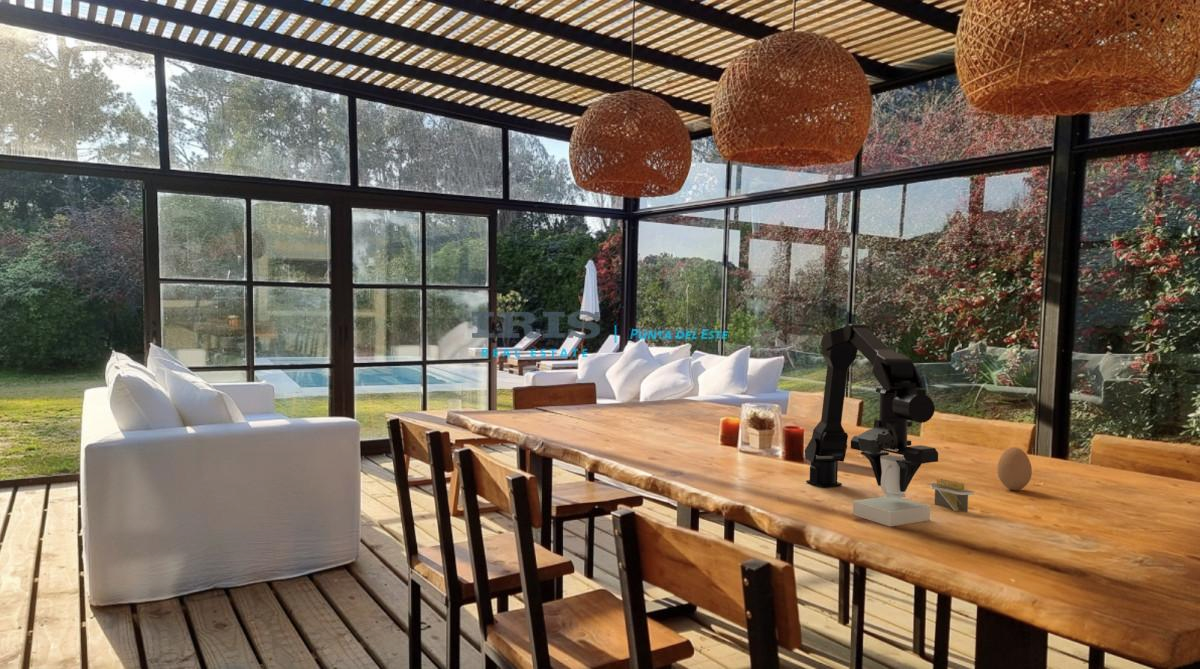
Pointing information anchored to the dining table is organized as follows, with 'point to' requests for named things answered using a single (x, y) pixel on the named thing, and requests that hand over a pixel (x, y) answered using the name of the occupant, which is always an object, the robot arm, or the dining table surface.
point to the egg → (1014, 469)
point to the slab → (891, 510)
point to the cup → (891, 476)
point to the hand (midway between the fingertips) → (891, 488)
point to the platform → (951, 495)
